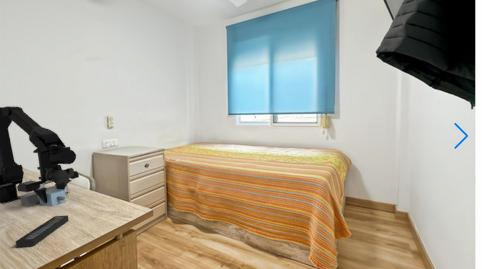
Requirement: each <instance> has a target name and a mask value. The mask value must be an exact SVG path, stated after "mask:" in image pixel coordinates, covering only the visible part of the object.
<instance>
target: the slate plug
mask: <svg viewBox="0 0 482 269" xmlns="http://www.w3.org/2000/svg"><path fill="white" fill-rule="evenodd" d="M46 195H47V203H46V204H45V203H44V202H43V201H42V200H41V199H40V197H39V199H40V203H39V204H40V206H46V207H47V206H48V207H55V206H58V205H60V204H63V203H65V201H66V202H67V199H66V193H65V190H62V189H53V188H52V189H49V190H46Z"/></svg>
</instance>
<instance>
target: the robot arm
mask: <svg viewBox="0 0 482 269" xmlns="http://www.w3.org/2000/svg"><path fill="white" fill-rule="evenodd" d="M12 122H13V123H14V124H15V125H17V127H19V128H20V129H21V130H23V131H24V132H25V133H26V134H27V135H28V140H29V142H30V143H31V145H32V146H34V147H35V149H34V150H33V151H32V153H34V154H37V158H38V166H37V170H39V174H40V176H38V181H35V180H28V181H24V180H23V179H24V174H25V172H24V169H23V168H24V167H23V165H22V164H18V163H17V162H16V161H15V157H14V152H13V151H14V150H13V147H12V142H11V136H10V133H9V127H10V125H11V124H12ZM59 136H60V135H58V133H56V131H53V130H52V129H49V128H46V127H43V126H41V125H40V124H39V123H38V122H37V121H35V120H34V119H33V118H32V117H30V115H28V114H27V113H26V111H24V109H23V108H22V107H21V106H0V204H6V203H10V202H13V201H15V200H19V199H20V200H21V198H20V196H21V195H20V196H19V195H18V192H22V193H31V192H35V193H36V194H37V195H38V196H39V197H40V199H41V200H42V201H43V202H44V203H45V204H46V203H47V195H46V190H47V188H48V187H45V185H47V184H51V183H54V184H56V188H57V189H62V190H65V187H66V185H67V186H68V184H69V183H70V182H72V180H74V179H77V178H80V173H79V172H78V171H77V170H74V168H73V167H69V168H65V169H63V168H62V165H71V164H73V163H74V162H76V159H77V154H76V152H75V151H74V150H72V149H71V147H70V146H66V144H65V143H64V142H63V141H62V139H61V138H60V137H59ZM23 181H24V182H23Z"/></svg>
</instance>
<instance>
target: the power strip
mask: <svg viewBox="0 0 482 269" xmlns="http://www.w3.org/2000/svg"><path fill="white" fill-rule="evenodd" d="M46 188H47V190H49V189H52V188H53V189H57V188H56V183H54V185H52V186H48V187H46ZM67 192H68V193H69V187H68V184H67V185H66V187H65V194H68V193H67ZM20 203H21V206H22V207H23V206H24V207H31V206H33V205H36V204H40V199H39V196H38V195H37V194H36V193H35V192H34V191H31V192H27V193H26V194H22V195H20Z"/></svg>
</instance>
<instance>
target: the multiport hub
mask: <svg viewBox="0 0 482 269" xmlns="http://www.w3.org/2000/svg"><path fill="white" fill-rule="evenodd" d="M68 222H69V215H55V216H52V217H51V218H49V219H48V220H47V221H45V222H44V223H42V224H40V225H39V226H37V227H36V228H34V229H32V230H31V231H29V232H28V233H26V234H25V235H23V236H21V237H20V238H18V239H17V240H16V241H15V247H16V248H15V249H21V248H22V249H23V248H33V247H36V246H37V245H38V244H39V243H40V242H42V241H43V240H45V239H46V238H47V237H48V236H50V235H51V234H53V233H54V232H55V231H58V229H59V228H61V227H62V226H63V225H65V224H66V223H68Z"/></svg>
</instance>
